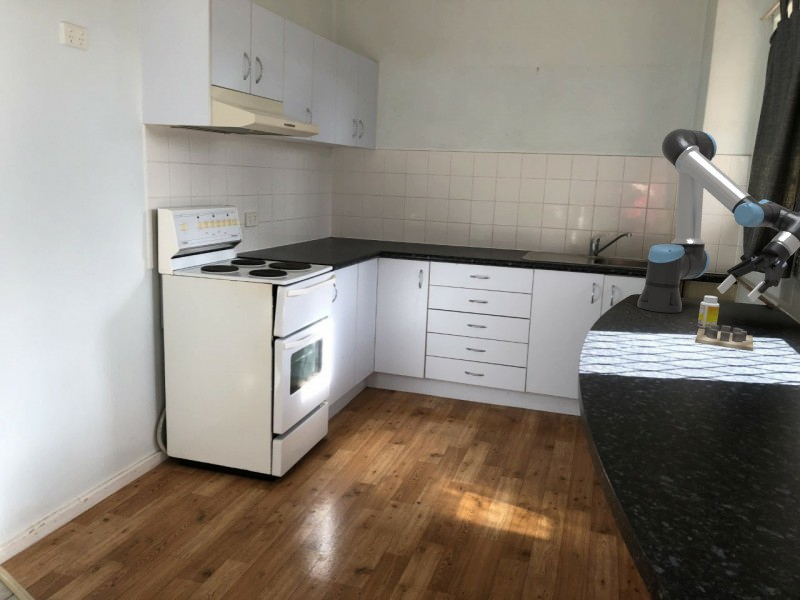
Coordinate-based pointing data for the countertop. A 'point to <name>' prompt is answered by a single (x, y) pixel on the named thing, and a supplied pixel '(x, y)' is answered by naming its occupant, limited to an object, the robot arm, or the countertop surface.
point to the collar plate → (723, 343)
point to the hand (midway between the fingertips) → (734, 294)
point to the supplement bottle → (708, 312)
